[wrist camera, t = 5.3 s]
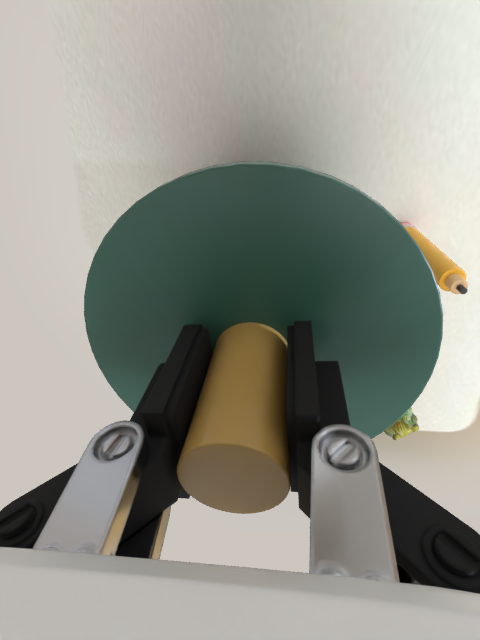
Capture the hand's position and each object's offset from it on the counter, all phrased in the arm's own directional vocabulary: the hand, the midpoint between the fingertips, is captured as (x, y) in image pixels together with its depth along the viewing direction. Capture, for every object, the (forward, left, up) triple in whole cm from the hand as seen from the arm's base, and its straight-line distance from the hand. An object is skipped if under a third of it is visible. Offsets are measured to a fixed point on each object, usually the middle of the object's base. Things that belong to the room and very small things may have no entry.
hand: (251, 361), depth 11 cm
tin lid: (0, 0, -1) cm, 1 cm away
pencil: (-6, +11, -24) cm, 27 cm away
